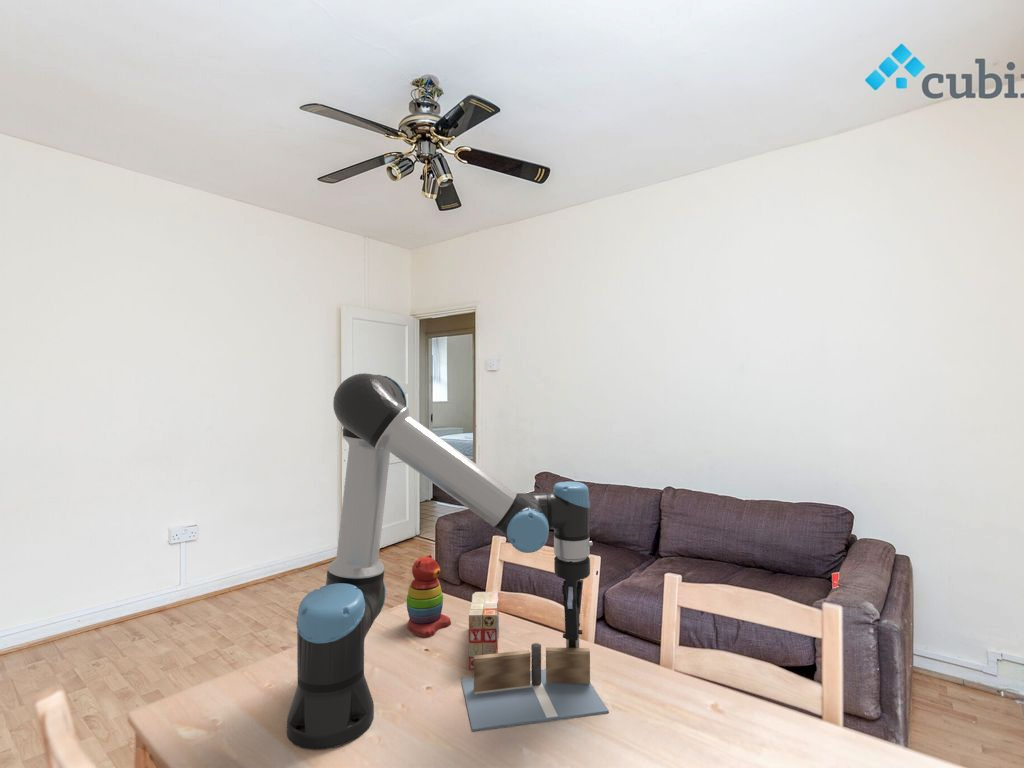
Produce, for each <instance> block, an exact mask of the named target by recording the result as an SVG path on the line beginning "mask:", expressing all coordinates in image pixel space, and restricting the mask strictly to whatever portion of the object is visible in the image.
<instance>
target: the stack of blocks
mask: <svg viewBox="0 0 1024 768" xmlns="http://www.w3.org/2000/svg"><path fill="white" fill-rule="evenodd" d="M471 596H472V597H471V604H470V608H469V611H468V670H469V671H474V656H477V655H486V654H496V653H499V635H500V634H499V633H500V629H499V628H500V623H499V622H500V621H499V620H500V619H499V618H500V617H499V613H500V612H499V606H500V605H499V591H475V592H474V593H472V595H471Z"/></svg>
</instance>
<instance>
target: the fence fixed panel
mask: <svg viewBox="0 0 1024 768" xmlns="http://www.w3.org/2000/svg"><path fill="white" fill-rule="evenodd" d="M530 647H531V650H530V649H525V650H517V651H516V650H515V651H507V652H505V651H504V652H498V653H496V654H486V655H477V656H474V670H473V678H474V692H480V691H488V690H496V689H504V688H513V687H521V686H529V685H531V679H530V671H532V685H534V686H539V685H541V670H542V644H540V643H538V642H535V643H531V646H530Z"/></svg>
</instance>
